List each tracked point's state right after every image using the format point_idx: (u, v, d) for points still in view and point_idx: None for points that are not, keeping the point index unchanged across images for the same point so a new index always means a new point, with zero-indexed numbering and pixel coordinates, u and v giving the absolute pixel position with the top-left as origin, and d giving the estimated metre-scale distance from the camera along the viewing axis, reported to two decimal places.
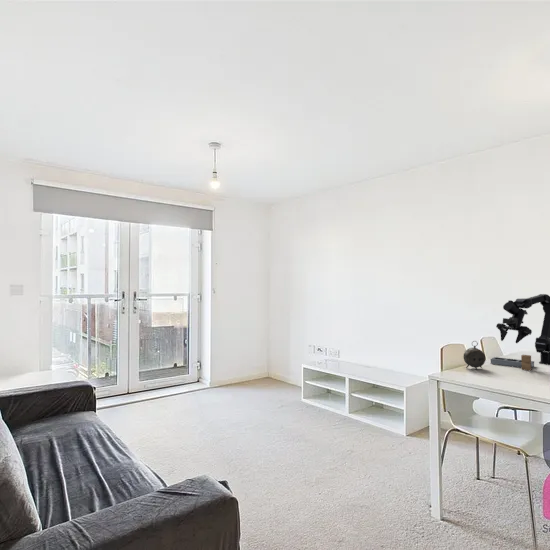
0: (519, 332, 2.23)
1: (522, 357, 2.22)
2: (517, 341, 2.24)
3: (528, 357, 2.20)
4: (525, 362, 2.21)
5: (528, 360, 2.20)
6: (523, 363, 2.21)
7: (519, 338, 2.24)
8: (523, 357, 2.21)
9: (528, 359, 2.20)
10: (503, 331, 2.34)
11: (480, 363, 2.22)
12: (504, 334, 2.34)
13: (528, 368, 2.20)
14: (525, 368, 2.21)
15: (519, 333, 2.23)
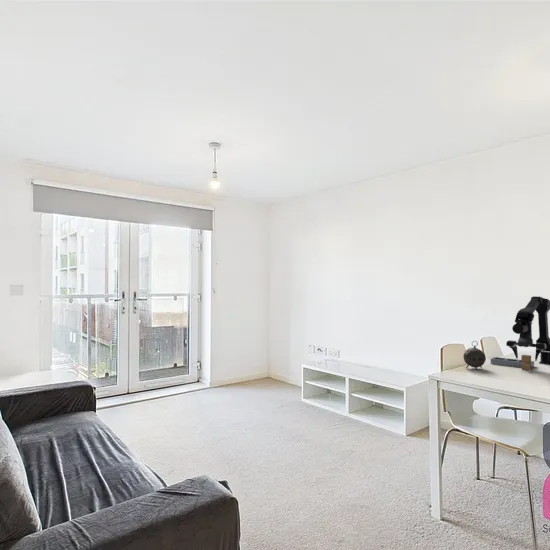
0: (537, 351, 2.17)
1: (522, 357, 2.22)
2: (536, 359, 2.19)
3: (528, 357, 2.20)
4: (525, 362, 2.21)
5: (528, 360, 2.20)
6: (523, 363, 2.21)
7: (537, 355, 2.18)
8: (523, 357, 2.21)
9: (528, 359, 2.20)
10: (515, 349, 2.25)
11: (480, 363, 2.22)
12: (516, 351, 2.26)
13: (528, 368, 2.20)
14: (525, 368, 2.21)
15: (537, 351, 2.17)
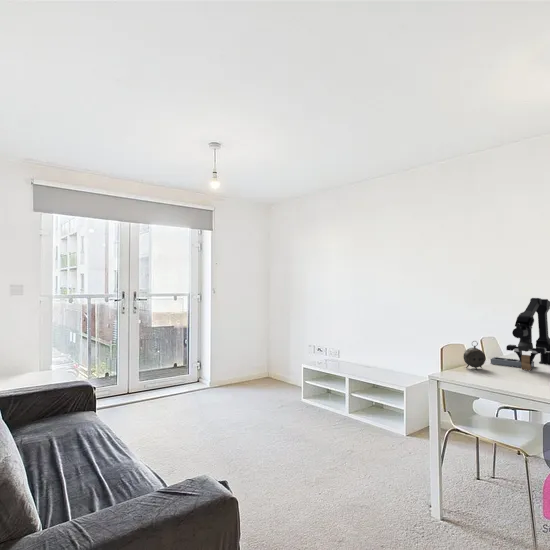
0: (532, 355, 2.18)
1: (522, 357, 2.22)
2: (531, 363, 2.20)
3: (528, 357, 2.20)
4: (525, 362, 2.21)
5: (528, 360, 2.20)
6: (523, 363, 2.21)
7: (532, 359, 2.20)
8: (523, 357, 2.21)
9: (528, 359, 2.20)
10: (520, 353, 2.24)
11: (480, 363, 2.22)
12: None
13: (528, 368, 2.20)
14: (525, 368, 2.21)
15: (532, 355, 2.19)
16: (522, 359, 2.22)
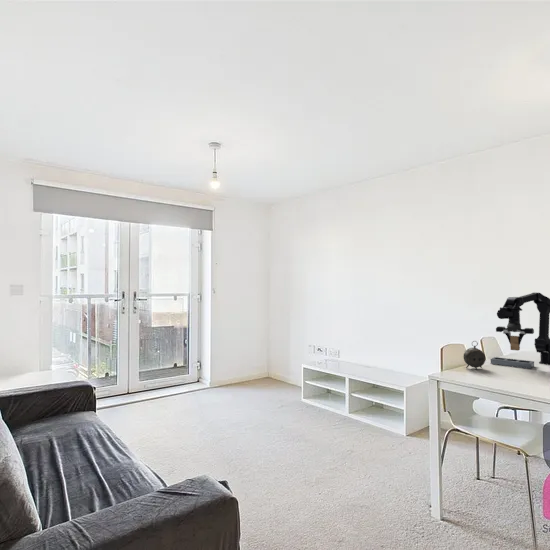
0: (520, 335, 2.28)
1: (511, 338, 2.31)
2: None
3: (516, 337, 2.29)
4: (513, 343, 2.30)
5: (517, 340, 2.29)
6: (512, 343, 2.31)
7: None
8: (512, 338, 2.31)
9: (517, 339, 2.29)
10: (509, 334, 2.33)
11: (480, 363, 2.22)
12: None
13: (517, 348, 2.29)
14: (514, 348, 2.30)
15: (520, 336, 2.28)
16: (511, 340, 2.31)
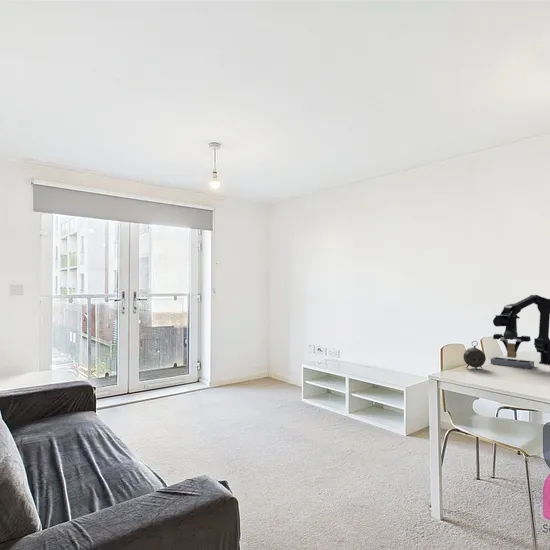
0: (517, 343, 2.30)
1: (508, 345, 2.34)
2: (516, 350, 2.32)
3: (513, 345, 2.32)
4: (510, 350, 2.33)
5: (513, 348, 2.32)
6: (508, 351, 2.34)
7: (517, 347, 2.32)
8: (508, 345, 2.34)
9: (513, 347, 2.32)
10: (506, 342, 2.36)
11: (480, 363, 2.22)
12: None
13: (513, 355, 2.32)
14: (510, 356, 2.33)
15: (517, 343, 2.31)
16: (508, 347, 2.34)
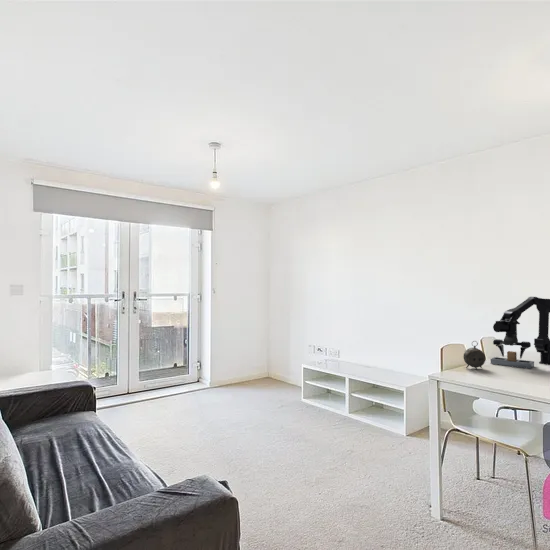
0: (522, 349, 2.29)
1: (508, 353, 2.34)
2: (521, 357, 2.31)
3: (513, 353, 2.32)
4: (510, 358, 2.33)
5: (513, 356, 2.32)
6: (509, 359, 2.33)
7: (522, 353, 2.30)
8: (509, 353, 2.33)
9: (513, 355, 2.32)
10: (502, 347, 2.37)
11: (480, 363, 2.22)
12: (503, 349, 2.38)
13: None
14: None
15: (522, 350, 2.29)
16: (508, 355, 2.34)
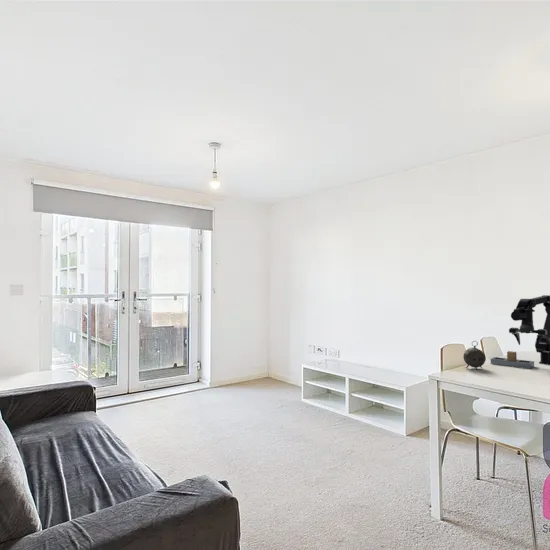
0: (538, 336, 2.28)
1: (508, 353, 2.34)
2: (538, 344, 2.30)
3: (513, 353, 2.32)
4: (510, 358, 2.33)
5: (513, 356, 2.32)
6: (509, 359, 2.33)
7: (539, 341, 2.29)
8: (509, 353, 2.33)
9: (513, 355, 2.32)
10: (518, 335, 2.36)
11: (480, 363, 2.22)
12: (519, 337, 2.37)
13: None
14: None
15: (538, 337, 2.28)
16: (508, 355, 2.34)
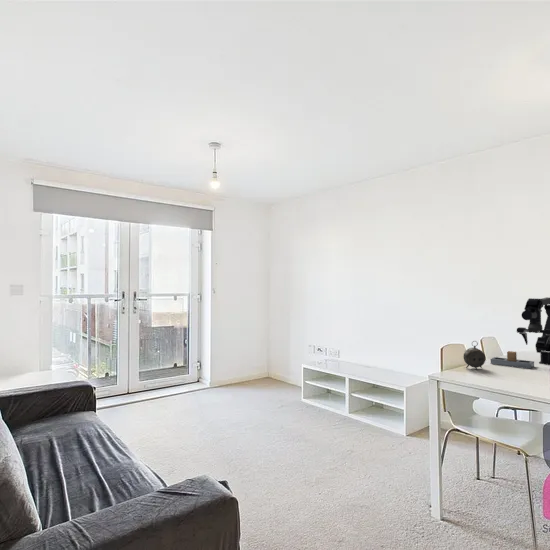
0: (546, 336, 2.27)
1: (508, 353, 2.34)
2: (546, 344, 2.29)
3: (513, 353, 2.32)
4: (510, 358, 2.33)
5: (513, 356, 2.32)
6: (509, 359, 2.33)
7: (547, 341, 2.29)
8: (509, 353, 2.33)
9: (513, 355, 2.32)
10: (525, 335, 2.36)
11: (480, 363, 2.22)
12: (526, 337, 2.36)
13: None
14: None
15: (546, 337, 2.27)
16: (508, 355, 2.34)
